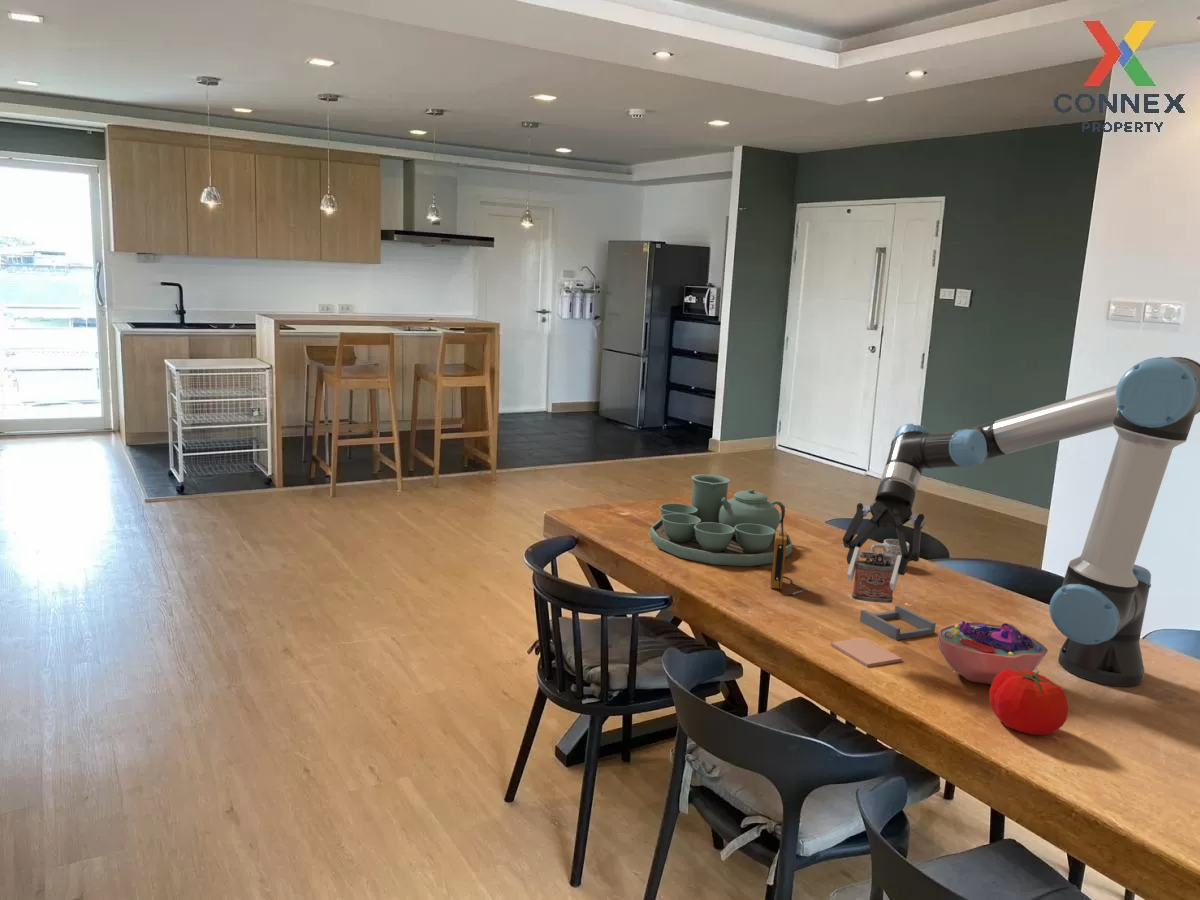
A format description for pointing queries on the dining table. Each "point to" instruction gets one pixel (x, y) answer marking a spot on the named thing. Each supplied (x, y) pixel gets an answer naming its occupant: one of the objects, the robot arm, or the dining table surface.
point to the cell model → (988, 650)
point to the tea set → (720, 525)
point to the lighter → (873, 578)
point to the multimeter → (780, 559)
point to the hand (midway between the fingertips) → (870, 582)
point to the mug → (890, 548)
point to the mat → (866, 652)
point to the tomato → (1028, 702)
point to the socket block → (893, 631)
